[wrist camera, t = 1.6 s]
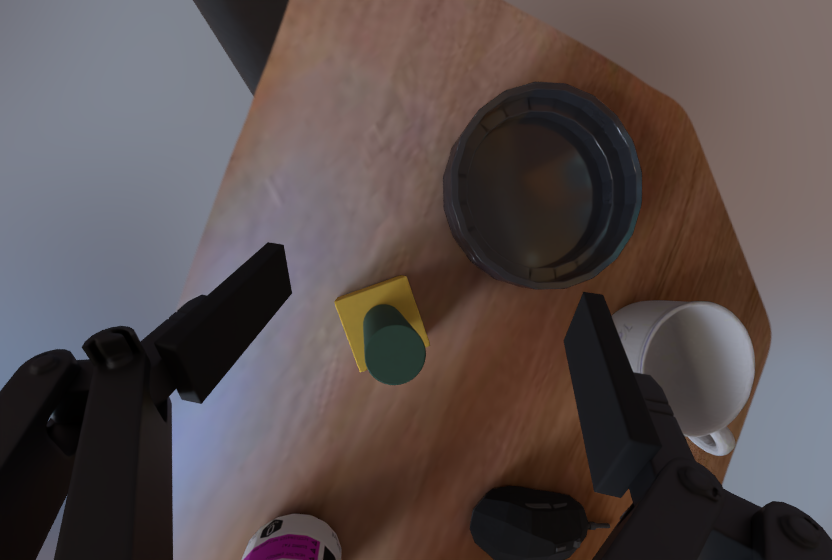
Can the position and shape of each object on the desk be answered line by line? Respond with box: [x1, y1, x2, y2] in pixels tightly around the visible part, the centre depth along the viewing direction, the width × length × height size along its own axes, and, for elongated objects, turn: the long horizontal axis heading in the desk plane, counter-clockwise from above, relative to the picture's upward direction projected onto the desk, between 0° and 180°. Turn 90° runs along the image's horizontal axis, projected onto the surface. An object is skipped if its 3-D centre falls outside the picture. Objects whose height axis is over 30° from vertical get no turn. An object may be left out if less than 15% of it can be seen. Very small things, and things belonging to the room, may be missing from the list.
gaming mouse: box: [470, 486, 610, 560], centre depth 33 cm, size 6×15×4 cm, turn 79°
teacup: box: [612, 300, 755, 456], centre depth 32 cm, size 14×11×8 cm
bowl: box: [443, 82, 642, 289], centre depth 32 cm, size 17×17×4 cm
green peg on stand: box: [334, 275, 430, 385], centre depth 25 cm, size 6×6×14 cm
